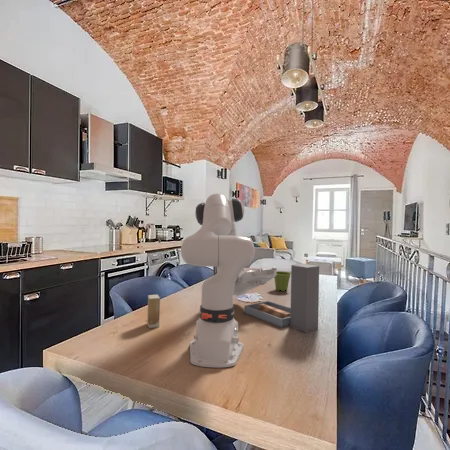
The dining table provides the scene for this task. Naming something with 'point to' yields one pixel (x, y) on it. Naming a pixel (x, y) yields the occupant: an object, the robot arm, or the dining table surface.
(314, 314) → the post
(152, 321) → the skincare box
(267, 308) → the rectangular block
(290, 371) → the dining table surface
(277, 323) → the tray
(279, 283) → the plant pot
